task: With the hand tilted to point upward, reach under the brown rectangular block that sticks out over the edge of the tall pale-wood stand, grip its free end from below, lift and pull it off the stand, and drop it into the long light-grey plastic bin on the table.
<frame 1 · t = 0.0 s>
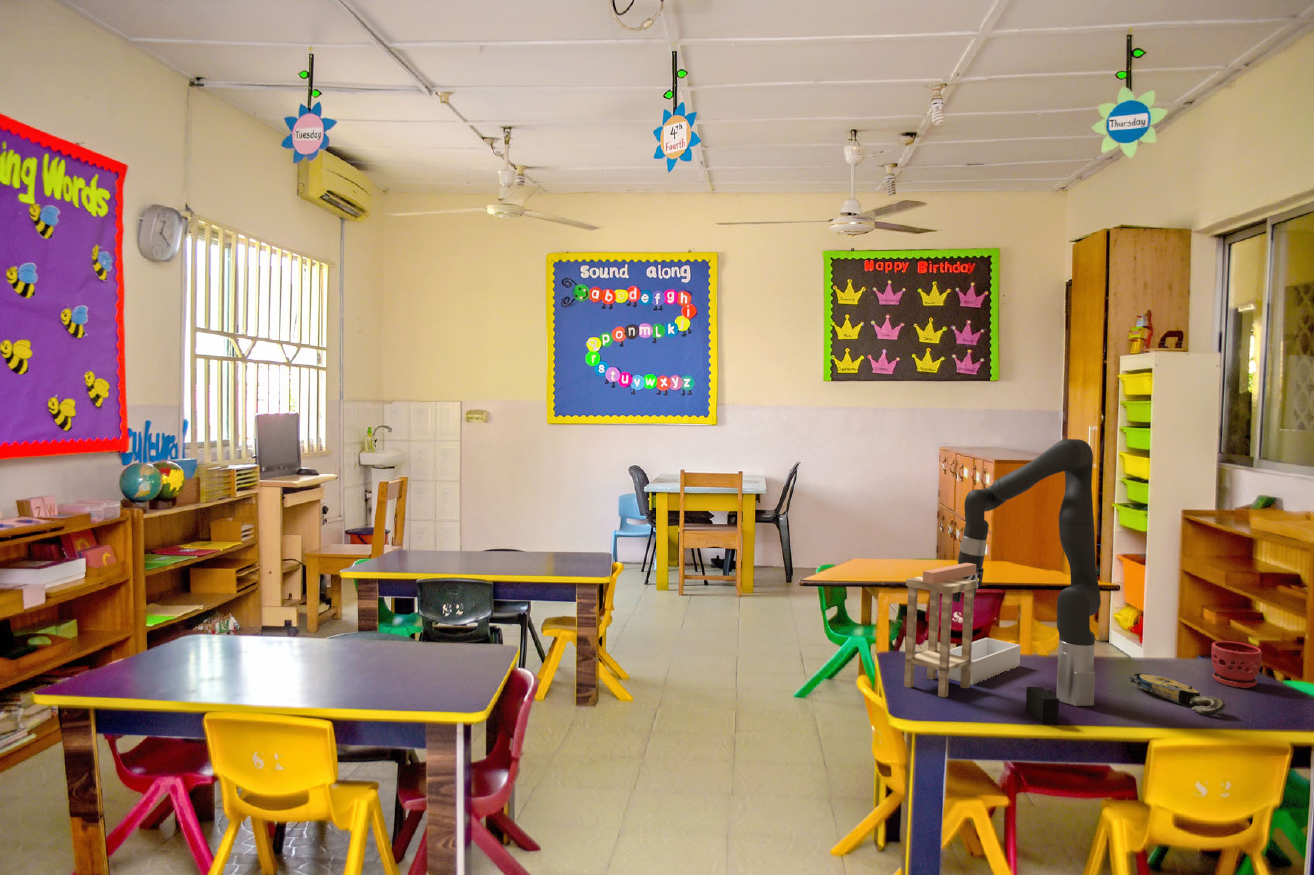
hand: (963, 600, 279), 22 cm above the table, tool pointing down, fingers open, 8 cm apart
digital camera: (1043, 718, 237), on the table
tall stand: (937, 686, 261), on the table
plant pot: (1234, 684, 275), on the table
brown rectangular block: (950, 578, 264), point 32 cm above the table, touching tall stand
pulley block: (1178, 702, 256), on the table
grey bin: (979, 670, 280), on the table
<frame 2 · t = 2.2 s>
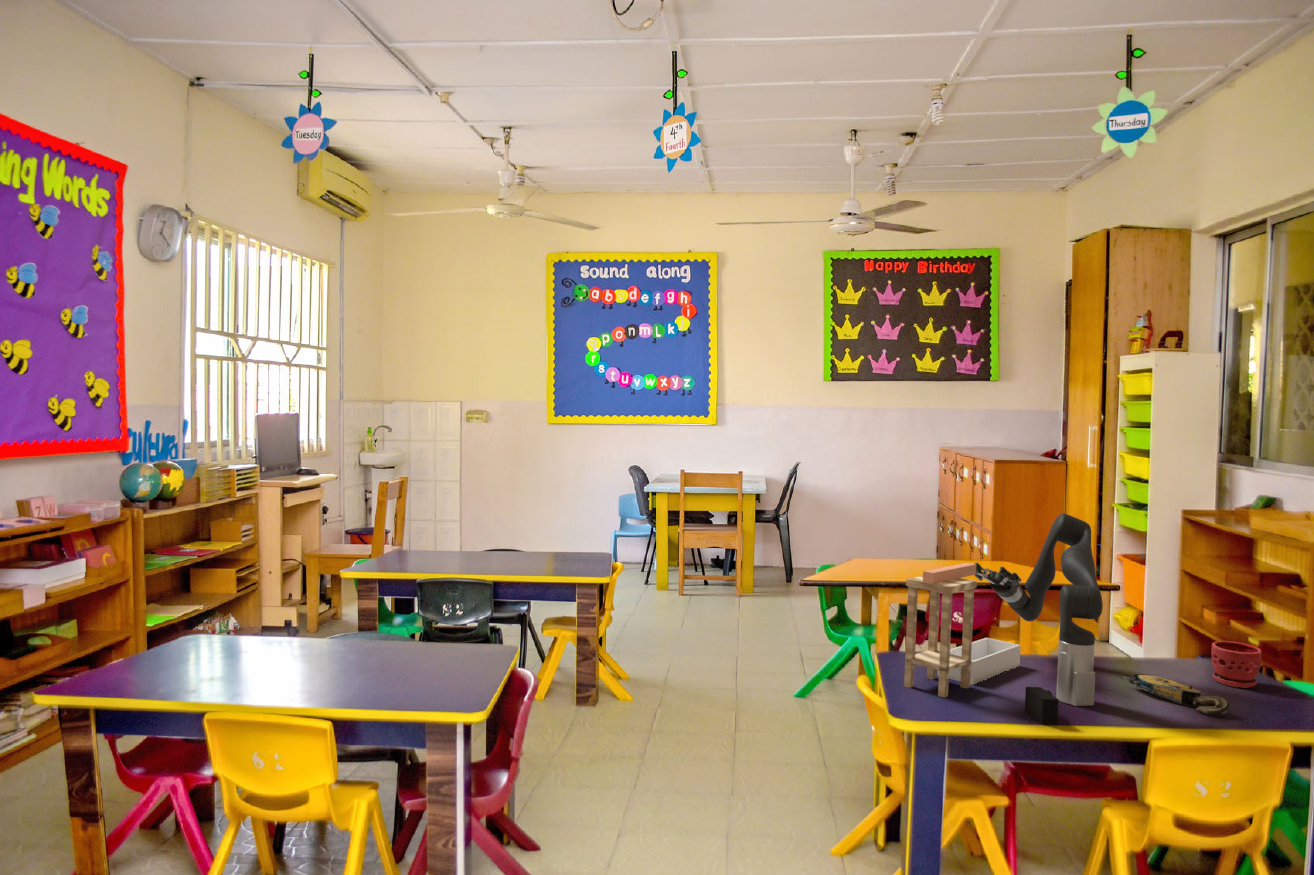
hand: (988, 567, 280), 33 cm above the table, tool pointing upward, fingers open, 8 cm apart
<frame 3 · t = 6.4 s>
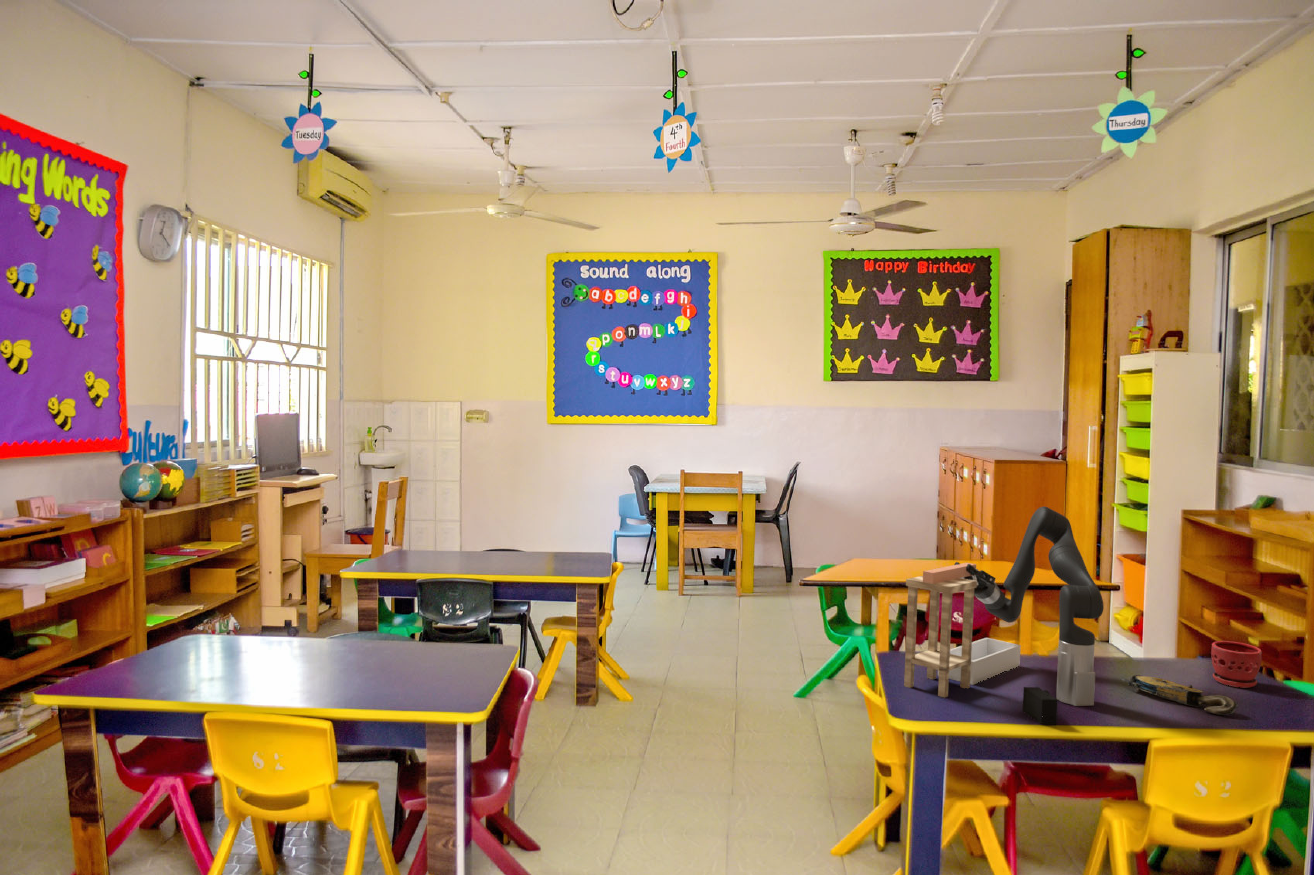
hand: (962, 565, 269), 35 cm above the table, tool pointing upward, fingers closed on brown rectangular block, 3 cm apart
brown rectangular block: (950, 578, 264), point 32 cm above the table, touching gripper, tall stand
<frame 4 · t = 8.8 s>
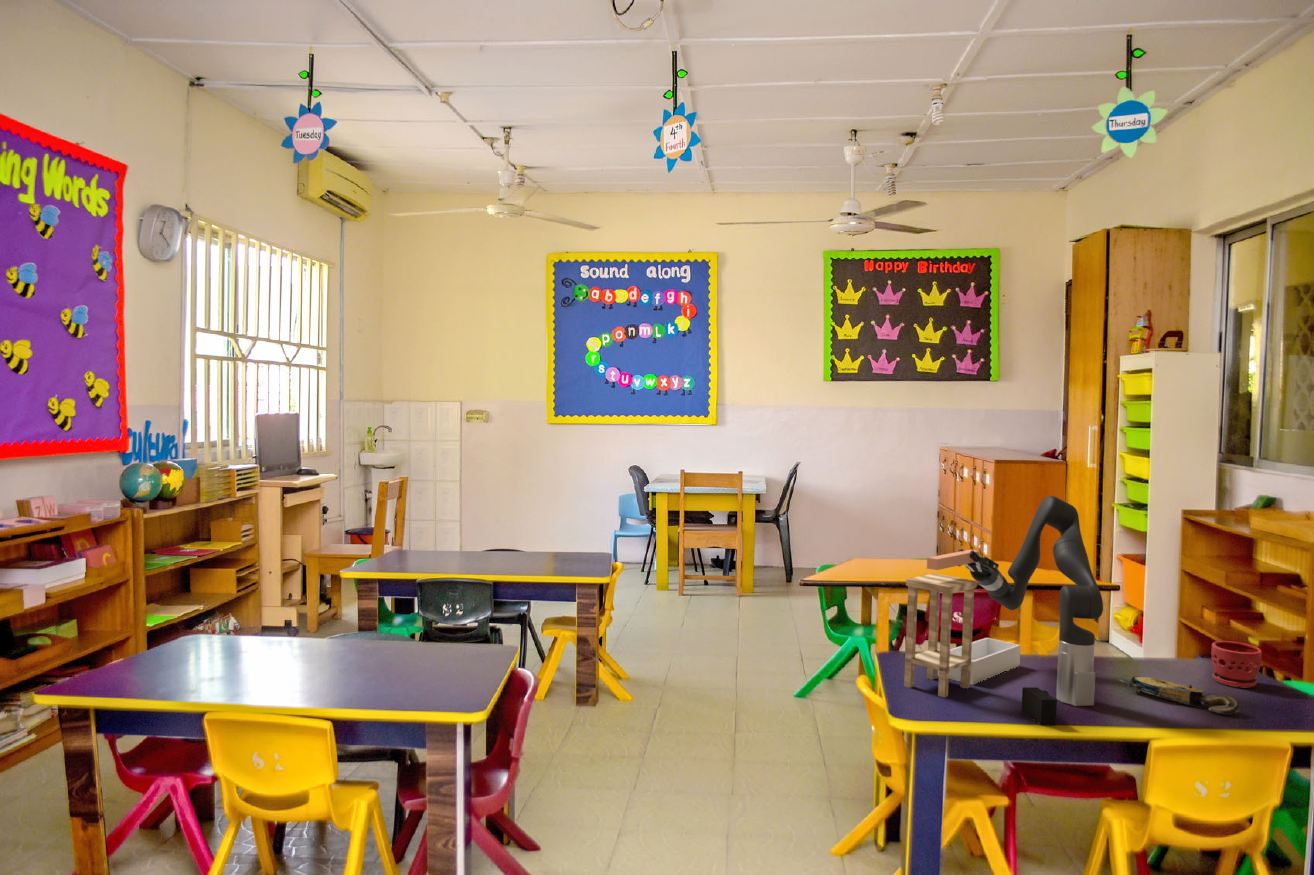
hand: (965, 552, 270), 39 cm above the table, tool pointing upward, fingers closed on brown rectangular block, 3 cm apart
brown rectangular block: (953, 564, 265), point 36 cm above the table, touching gripper
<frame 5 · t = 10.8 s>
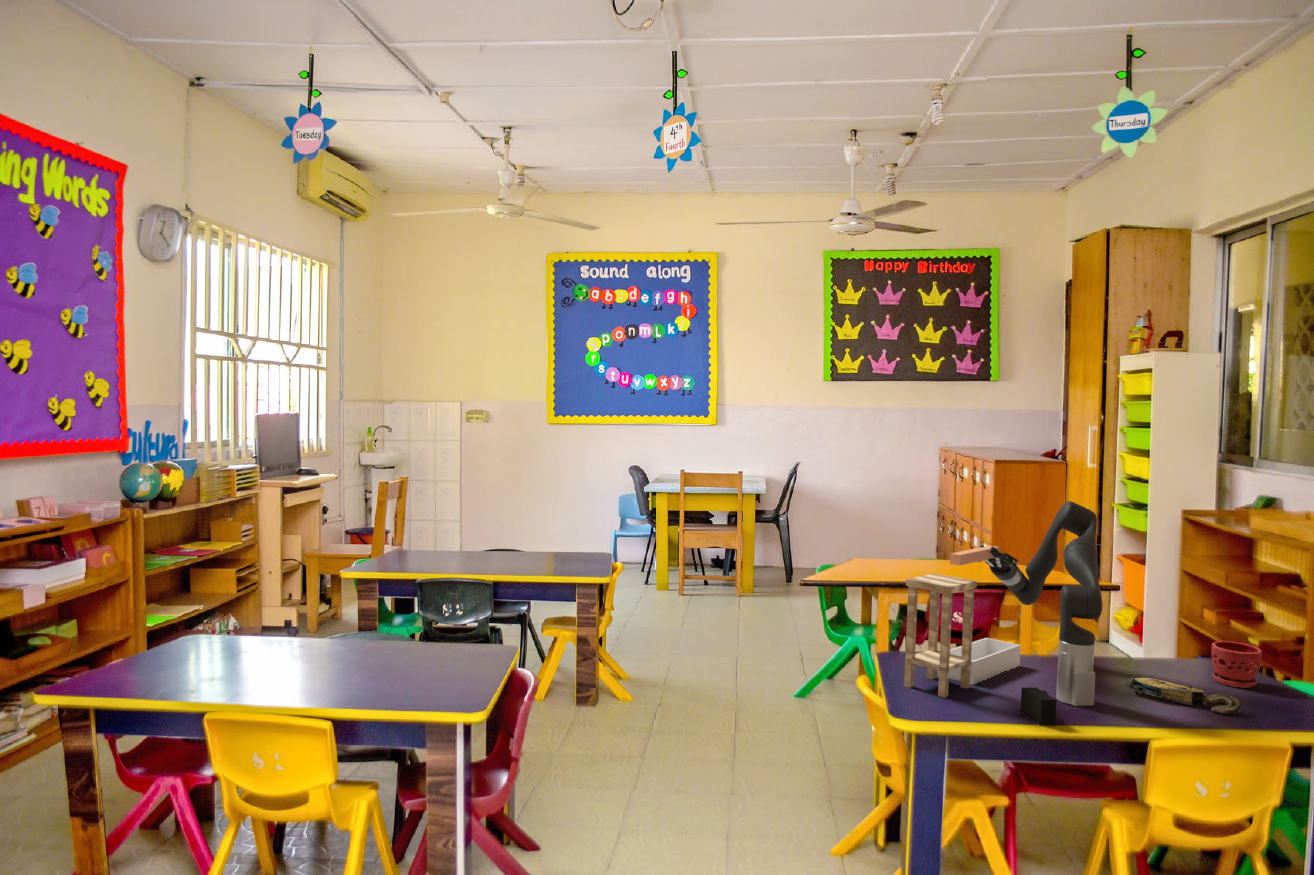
hand: (986, 548, 279), 39 cm above the table, tool pointing upward, fingers closed on brown rectangular block, 3 cm apart
brown rectangular block: (975, 560, 274), point 36 cm above the table, touching gripper
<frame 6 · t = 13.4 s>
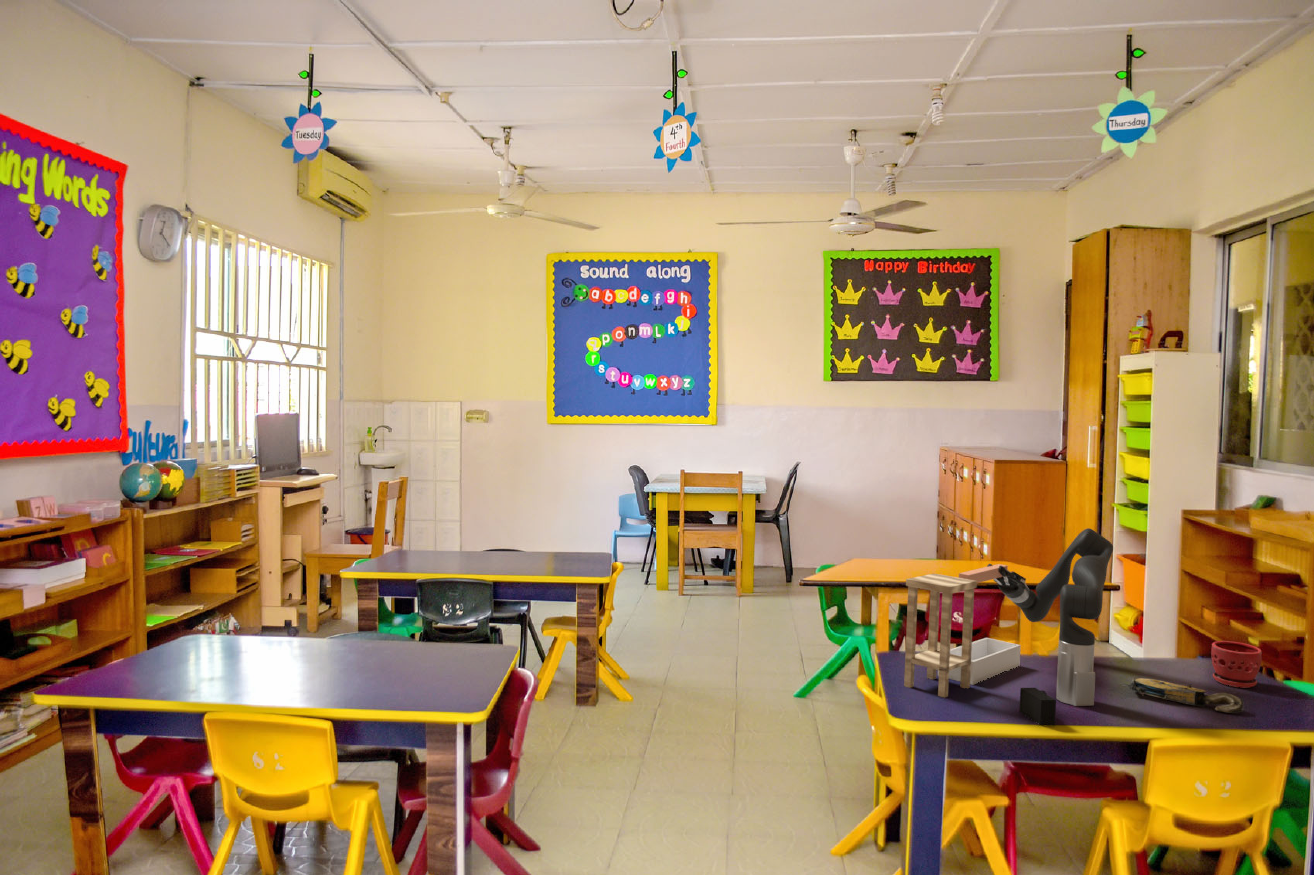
hand: (994, 567, 283), 32 cm above the table, tool pointing upward, fingers closed on brown rectangular block, 3 cm apart
brown rectangular block: (983, 579, 279), point 29 cm above the table, touching gripper
when the fingers open (25 cm above the table, at t = 15.1 s): brown rectangular block drops 21 cm, resting on grey bin.
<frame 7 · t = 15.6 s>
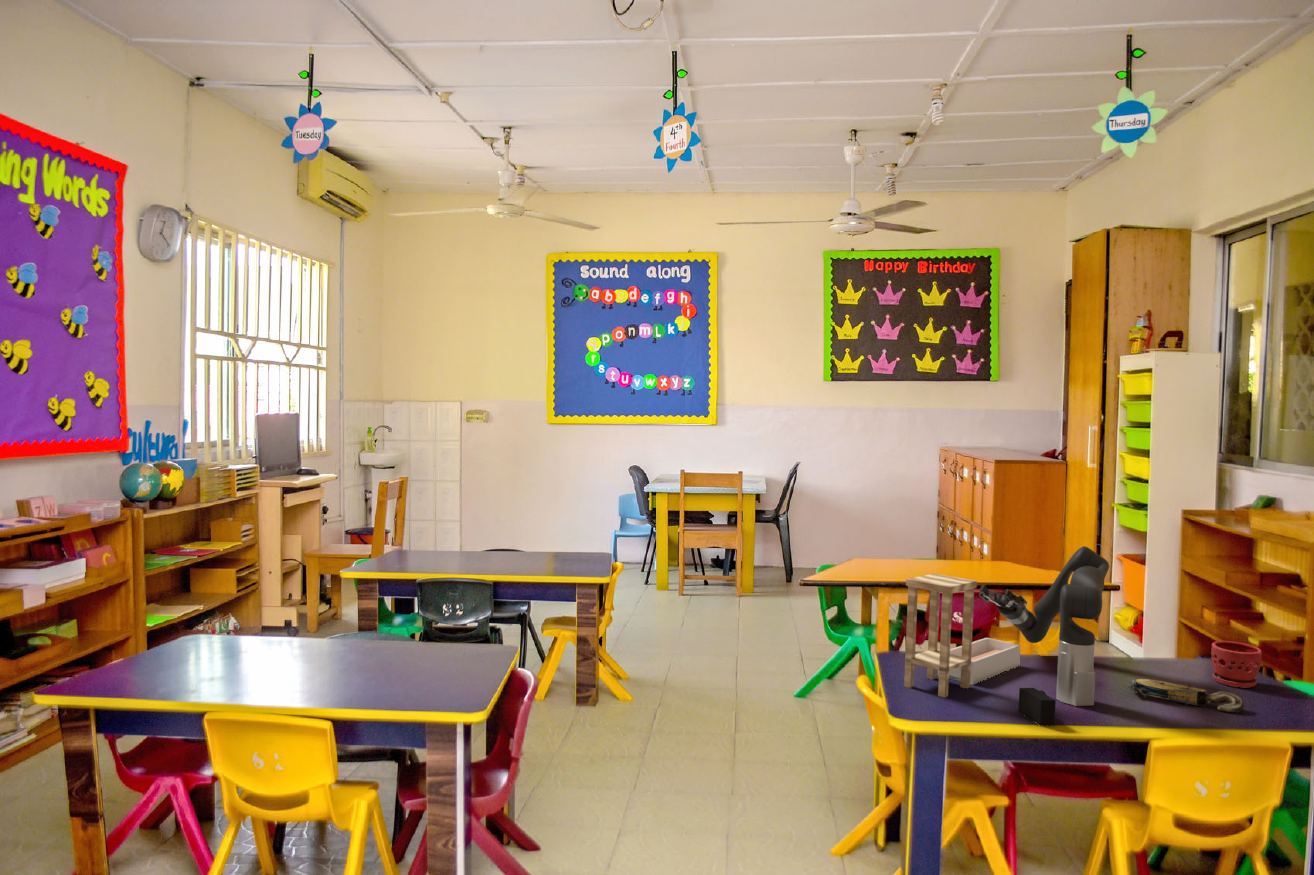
hand: (994, 590, 284), 25 cm above the table, tool pointing upward, fingers open, 8 cm apart
brown rectangular block: (981, 666, 281), point 1 cm above the table, touching grey bin
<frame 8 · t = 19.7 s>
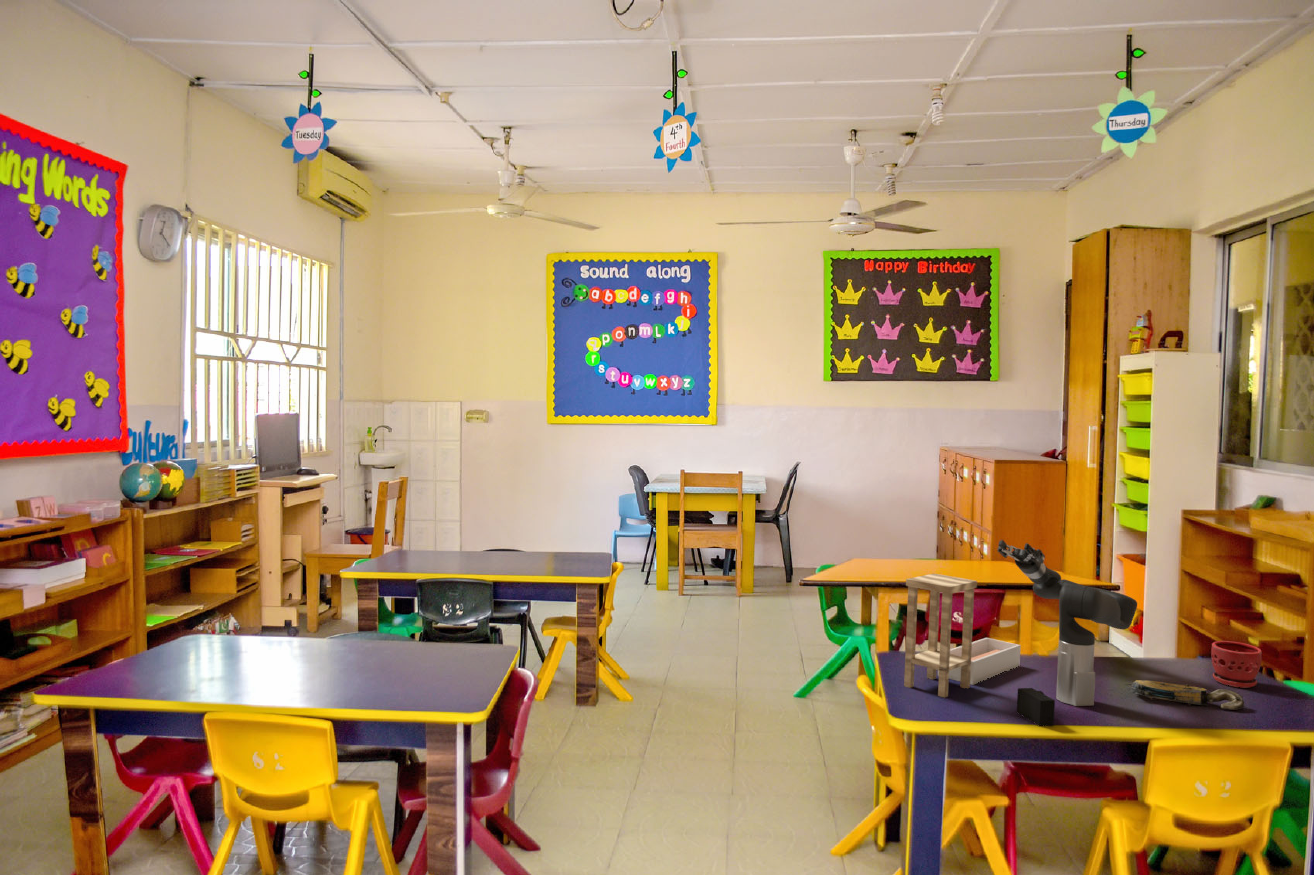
hand: (1013, 544, 292), 39 cm above the table, tool pointing upward, fingers open, 8 cm apart
at the end: brown rectangular block 1.4 cm from the grey bin (horizontally); brown rectangular block point 1.0 cm above the table; the gripper is holding nothing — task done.
